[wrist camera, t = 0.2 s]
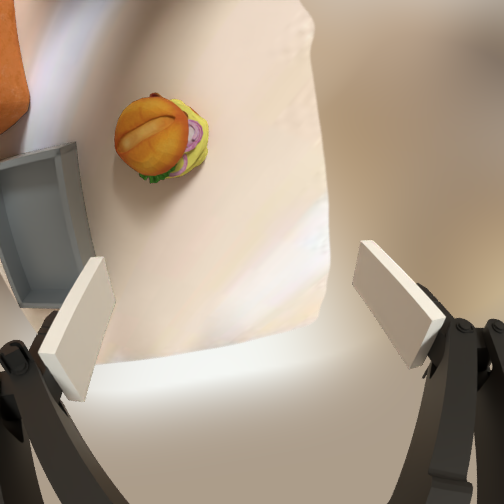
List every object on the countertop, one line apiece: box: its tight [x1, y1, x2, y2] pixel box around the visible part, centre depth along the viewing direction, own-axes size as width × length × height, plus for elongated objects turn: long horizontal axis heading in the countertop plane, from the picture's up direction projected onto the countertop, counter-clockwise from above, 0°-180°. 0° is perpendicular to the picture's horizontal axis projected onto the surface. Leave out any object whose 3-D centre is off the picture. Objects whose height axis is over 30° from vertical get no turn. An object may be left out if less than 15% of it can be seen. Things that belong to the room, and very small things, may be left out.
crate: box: [0, 142, 96, 309], centre depth 36 cm, size 24×16×5 cm, turn 179°
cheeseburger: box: [114, 93, 209, 183], centre depth 32 cm, size 10×11×10 cm
